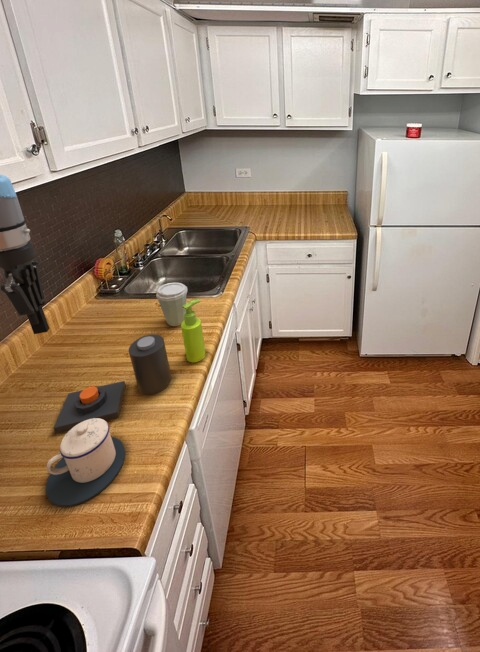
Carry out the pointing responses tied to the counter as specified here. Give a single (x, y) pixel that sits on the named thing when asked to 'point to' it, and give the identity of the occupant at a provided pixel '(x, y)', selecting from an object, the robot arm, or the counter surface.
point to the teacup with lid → (85, 451)
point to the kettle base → (91, 407)
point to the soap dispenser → (192, 334)
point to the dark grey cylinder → (150, 364)
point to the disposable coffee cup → (172, 302)
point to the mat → (72, 493)
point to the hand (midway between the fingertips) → (41, 331)
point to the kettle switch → (89, 395)
